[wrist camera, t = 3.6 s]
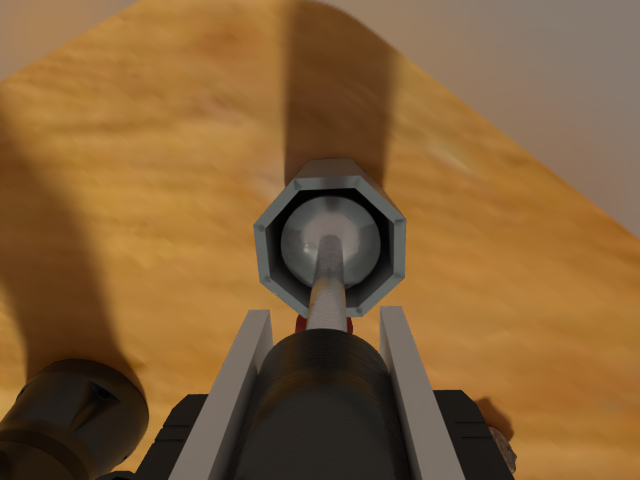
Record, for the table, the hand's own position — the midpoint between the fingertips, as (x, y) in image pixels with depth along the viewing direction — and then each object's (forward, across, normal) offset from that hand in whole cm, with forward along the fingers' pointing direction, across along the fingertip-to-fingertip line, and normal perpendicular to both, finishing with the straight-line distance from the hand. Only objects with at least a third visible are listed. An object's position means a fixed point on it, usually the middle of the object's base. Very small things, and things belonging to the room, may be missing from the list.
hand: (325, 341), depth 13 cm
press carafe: (+23, 0, 0) cm, 23 cm away
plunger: (+12, 0, 0) cm, 12 cm away
